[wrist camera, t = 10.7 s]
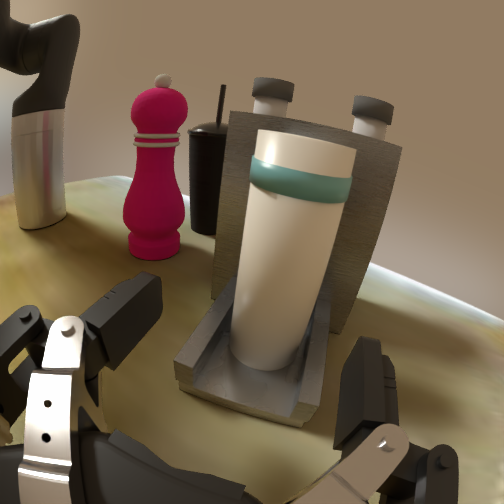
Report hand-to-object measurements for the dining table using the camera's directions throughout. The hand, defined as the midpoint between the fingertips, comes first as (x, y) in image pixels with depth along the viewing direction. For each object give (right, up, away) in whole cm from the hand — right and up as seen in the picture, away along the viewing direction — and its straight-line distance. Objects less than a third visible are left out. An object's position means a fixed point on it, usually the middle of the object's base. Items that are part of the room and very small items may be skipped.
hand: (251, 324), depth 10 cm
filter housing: (+2, -4, +12) cm, 13 cm away
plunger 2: (+8, +9, +10) cm, 16 cm away
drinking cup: (-6, +6, +28) cm, 30 cm away
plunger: (+1, +11, +11) cm, 15 cm away
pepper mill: (-12, +3, +21) cm, 24 cm away
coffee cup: (+1, -4, +9) cm, 10 cm away
